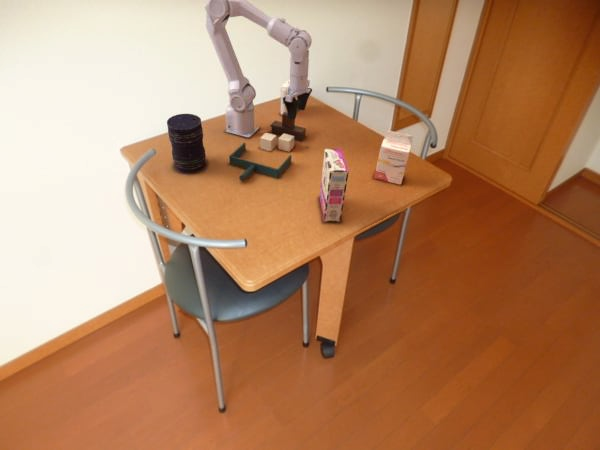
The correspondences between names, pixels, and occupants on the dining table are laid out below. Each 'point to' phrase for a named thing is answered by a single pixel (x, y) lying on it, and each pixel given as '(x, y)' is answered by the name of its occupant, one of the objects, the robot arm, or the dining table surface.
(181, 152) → the storage jar
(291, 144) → the cream white cube
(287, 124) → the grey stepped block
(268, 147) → the beige cube
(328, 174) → the candy bar box
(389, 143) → the ink cartridge box
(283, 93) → the photo printer
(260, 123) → the dining table surface
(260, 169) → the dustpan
